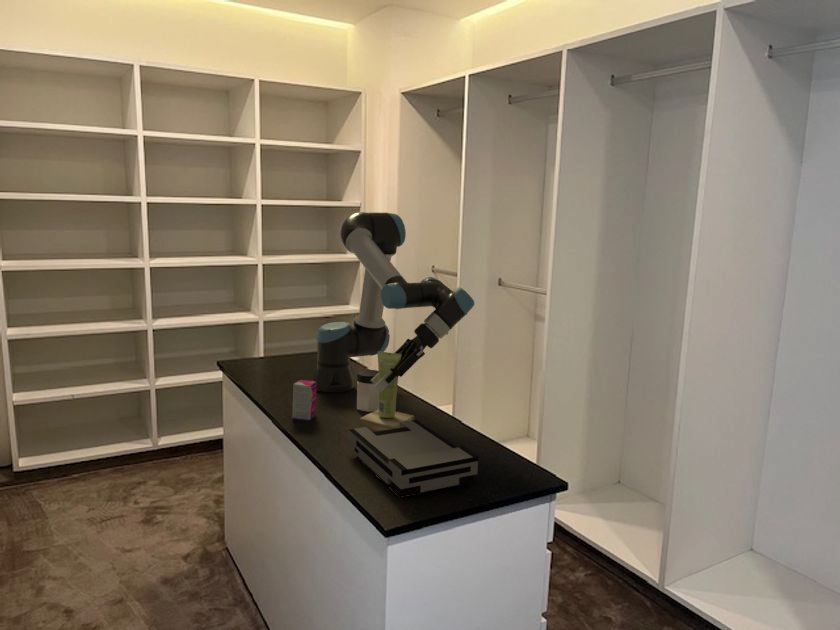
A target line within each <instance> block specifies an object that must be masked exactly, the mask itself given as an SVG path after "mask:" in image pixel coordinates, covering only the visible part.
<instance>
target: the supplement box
mask: <svg viewBox="0 0 840 630" xmlns="http://www.w3.org/2000/svg"><path fill="white" fill-rule="evenodd" d="M292 385H293V387H292V389H293V391H292V414H291V415H292V418H291V420H293V421H300V422H301V421H302V422H310V421H311V420H312V419H313V418H315V417H316V416H317V415H316V413H317V412H316V408H317V390H316V387H317V382H315V381H312V380H306V379H305V380H304V379H300V380H298V381H296V382H294V383H293V384H292Z"/></svg>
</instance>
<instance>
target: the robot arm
mask: <svg viewBox="0 0 840 630" xmlns="http://www.w3.org/2000/svg"><path fill="white" fill-rule="evenodd" d="M406 237H407V236H406V226H405V224H404V221H403V219H402V217H401V216H399V214H396V213H391V212H366V211H365V212H363V211H359V212H355V213H352V214H350V215H349V216H348V217H346V219H345V220H344V221H343V223H342V225H341V229H340V238H341V242H342V244H343V245H344V247H345V249H346V250H347V251H348V252H349V253H352V254H354V255H355V256H356V258H357V260H358V261H359V262H360V263H361V265H363V267H364V275H363V283H362V291H361V298H360V304H359V312H358V315H357V316H355V317H354V320H353V325H351V323H349V322H347V321H334V322H329V323H325V324H323V325H321V326H320V327H319V328H318V330H317V337H316V340H317V345H316V346H317V351H316V353H317V363H316V365H317V366H316V368H315V372H314V375H313V378H312V380H311V381H315V382H317V387H316V391H318V392H323V393H342V392H343V393H344V392H347V391H351V390H353V389H354V387H355V380H354V377H353V374H352V370H351V367H350V358H359V357H366V356H367V357H368V356H375V355H376V356H377V351H380V352H386V350H387V349H388V346H389V344H390V337H391V336H390V335H391V334H389V333H390V329H389V327H388V326H387V325H386V321H385V320H384V318H383V315H384V314H383V313H384V308H386V309H389V310H390V309H393V310H401V309H413V308H426V307H427V308H428V307H429V308H430V307H433V308H434V310H433V311H432V312H431V313H430V314H428V316H427V317H426V318H425V319H424V320H423V323H420V324H419V325H418V326H417V327H416V328H415V329H414V333H415V335H416V336H415V337H413V338H412V339H410V338H406V341H405V342H404V343H403V344H402V345H401V346H400V347H399V348H397V350H396V351H394V353H397V354H402V356H401V360H400V361H399V362H398V364H397V365H396V366H395V367H394V368H390V371H389V372H388V373H387V374H386V375H385V376H384V377H383V378H382V379H381V380H380V381H379V372H378V373H377V374H376V375H375V376H374V377H373V378H372V379H371V381H372V382H373V383H374V384H375V387H376V388H377V389H378V390H379V391H380V392H382V391H383V390H384V389H385V388H386V387H387V386H388V385H389V384H390V383H391V382H392V381H393V380H394V379H395V378H396V377H398V378H399V377H400V378H402V377H403V376H404V375H405V374H406V373H407V372H408V371H409V370H410V369H411V368H412V367H413V366H414V365H415V364H416V363H417V362H418V360H420V359H421V358H422V357H423V356H425V354H426V353H425V352H424V350H425V349H426V348H427V347H428V348H429V349H433V348H434V347H435V346H436V345H437V344H438V343H439V342H440V339H443V338H444V336H447V335H448V334H449V332H450V331H451V330H452V329H453V328H454V327H455V326H456V325H457V324H458V323H459V322H460V321H461V320H463V318H464V317H465V316H466V315H468V313H470V311H471V310H472V309H473V308H474V307H475V301H474V299H473V297H472V296H471V295H470V294H469V293H468V292H467V291H466V290H464V289H463V288H462V287H457V288H455V289H454V290H452V289H450V287H448V286H447V285H446V284H444V283H443V282H442V281H441V280H439V279H437V278H436V277H433V276H428V277H426V278H423V279H422V280H421V281H420V282H408V281H407V280H406V279H405V278H404V277H403V276H402V275H401V273H400V272H399V271H398V269H397V268H396V267H395V266H394V264H393V263H392V262H391V260H392V257H393V256H395V255H396V254H397V248H399V247H401V246H402V245H404V243H405V240H406Z"/></svg>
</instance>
